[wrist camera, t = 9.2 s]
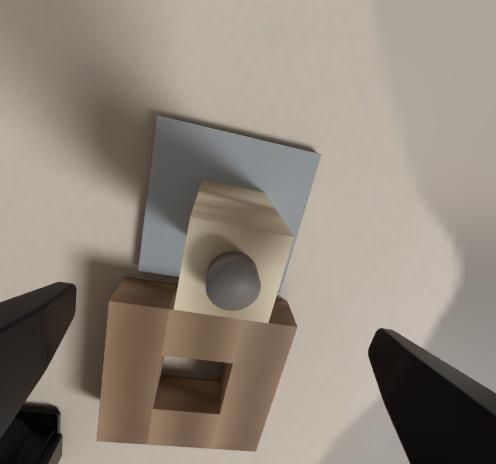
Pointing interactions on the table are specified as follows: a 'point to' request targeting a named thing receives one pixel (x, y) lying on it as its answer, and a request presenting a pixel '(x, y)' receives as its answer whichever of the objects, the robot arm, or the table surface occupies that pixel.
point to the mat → (217, 170)
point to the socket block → (185, 389)
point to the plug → (233, 254)
